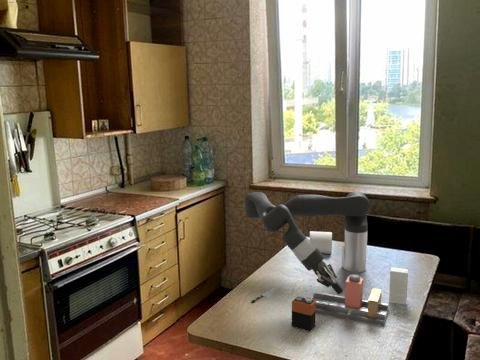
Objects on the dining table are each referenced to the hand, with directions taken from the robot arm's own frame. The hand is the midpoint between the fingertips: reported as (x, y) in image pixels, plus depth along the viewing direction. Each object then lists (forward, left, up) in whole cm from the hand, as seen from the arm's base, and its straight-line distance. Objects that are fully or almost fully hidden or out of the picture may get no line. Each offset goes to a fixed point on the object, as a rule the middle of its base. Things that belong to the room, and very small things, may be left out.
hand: (341, 292), depth 161 cm
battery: (+1, -19, -7) cm, 20 cm away
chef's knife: (-25, -12, -7) cm, 29 cm away
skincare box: (+8, +21, -7) cm, 24 cm away
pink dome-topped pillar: (+4, +2, -5) cm, 6 cm away
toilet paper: (-45, +36, -7) cm, 58 cm away
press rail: (+2, +1, -6) cm, 7 cm away
